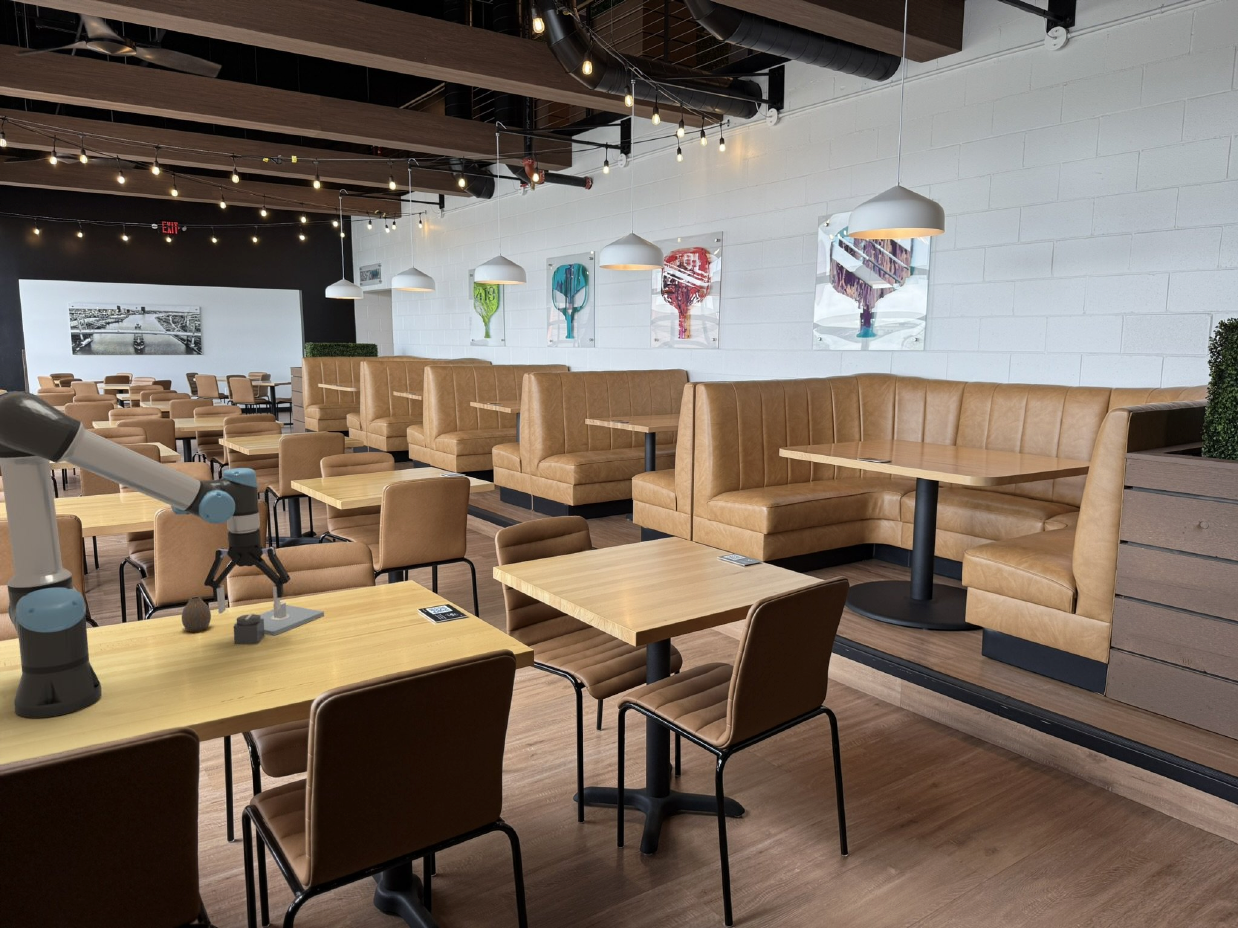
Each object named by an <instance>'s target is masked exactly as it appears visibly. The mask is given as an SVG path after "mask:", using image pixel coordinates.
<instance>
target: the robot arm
mask: <svg viewBox="0 0 1238 928" xmlns="http://www.w3.org/2000/svg"><path fill="white" fill-rule="evenodd" d="M51 462H52V463H55V464H59V463H62V462H66V463H68V464H71V465H73V466H75V467H77V468H81V469H82V470H86V471H87V472H90V473H93V474H95V475H98V476H100V477H102V478H103V479H107V480H109V481H112V482H114V483H116V484H119V485H121V486H123V487H125V488H127V489H131V490H133V491H136V492H138V493H141V494H143V495H145V496H148V497H149V498H152V499H155V500H157V501H159V502H163V503H164V504H167V505H169V506H170V508H171V510H172V512H173V514H174V515H177V516H180V515H187V516H188V515H192V516H194V517H197V518H199V519H202V520H203V521H204V522H207V523H209V524H214V525H219V524H224V523H226V528H227V530H228V532H227V543H228V549H225V548H223V547H219V548H218V549H216V550H215V558H214V561H213V562H212V565H211V567H210V570H209V572H208V574H207V576H206V579H205V580H204V586H205V587H211V588H212V594H213V599H214V601H217V608H218V609H217V610H218V611H217V612H218V614H223V613H224V612H225V611H226V609H227V608H226V599H225V586H224V585H221V584H222V583H223V581H224V580H226V578H227V576H229V574H230V573H231V572H232V571H233V569H234V568H235V567H236V566H238V567H253V566H254V567H256V568H258V569H259V570H260V571H261V572H262V573H263V575H265V576H266V577H267V578H269V580H270V581H271V582H272V583H273V584H274V585H272V594H273V604H274V606H273V610H274V611H278V610H279V609H280V608H281V606H280V602H281V599H282V597H283V596H284V585H285V584H287V583H289V581H290V580H291V577H290V575H289V573H288V572H287V570H286V568H285V567H284V565H283V563H282V562H281V560H280V559H279V557H278V555H277V552H276V548H275V546H270V547H267V548H263V546H262V536H261V535H262V534H261V533H262V532H261V529H260V527H261V523H260V521H261V520H260V510H259V491H258V489H259V485H258V481H257V475H256V474H257V472H256V471H255V470H254V469H253V468H250V467H238V468H237V467H235V468H229V469H225V470H224V471H223V473H222V478H219V479H209V480H199V479H197V478H195V477H192V476H191V475H188V474H186V473H184V472H181V471H178V470H177V469H174V468H173V467H170V466H168V465H165V464H163V463H162V462H159V461H157V460H154V459H153V458H150V457H148V456H146V455H143V454H141V453H139V452H137V451H134V450H132V449H130V448H128V447H126V446H123V445H121V444H120V443H119V444H118V443H117V442H115V441H112V440H110V439H108V438H105V437H104V436H101V435H98V434H97V433H95V432H92V431H90V430H88V429H85V426H84V425H83V422H82V421H80V420H77V419H75V418H73V417H72V416H70V415H68V414H66V413H64V412H62V411H61V410H59V409H58V408H56V407H54V405H52V404H50V403H49V402H48V401H46V400H44V399H43V398H41V397H40V396H38V395H36V394H34V393H31V392H27V391H17V390H14V391H6V392H3V393H1V394H0V473H1V481H2V487H3V496H4V501H5V503H4V504H5V512H6V518H7V519H6V520H7V527H8V532H9V541H10V542H9V543H10V548H11V549H10V550H11V556H12V563H13V571H14V572H13V573H14V574H13V576H11V577H10V579H8V581H7V582H6V583H7V592H8V600H9V601H8V608H7V609H8V610H7V611H8V616H9V619H10V621H11V623H12V624H13V627H14V629H15V631H16V634H17V636H18V643H19V644H18V645H19V654H20V663H21V664H20V665H21V672H22V673H21V677H20V680H19V684H18V686H17V690H16V694H15V697H14V702H13V703H14V704H13V705H14V713H15V714H16V715H18V716H19V717H23V718H29V719H31V718H32V719H37V718H38V719H41V718H43V719H44V718H50V717H57V716H62V715H68V714H70V713H74V712H77V711H80V710H82V709H86V707H89V706H91V705H93V704H95V703H96V702H97V701H99V700H100V699H101V698H102V695H103V693H102V684H101V682H100V680H99V678H98V676H97V674H96V672H95V670H94V668H93V666H92V663H91V662H90V655H89V654H90V653H89V645H88V644H89V643H88V631H87V629H88V628H87V619H86V613H87V612H86V611H87V605H86V602H85V600H84V599H85V597H84V596H83V594H82V593H81V592H79V591H78V590H76V589H74V583H73V575H72V572H71V571H70V570H68V569H66V568H65V567H64V566H63V562H62V560H63V559H62V553H61V545H60V538H59V537H60V536H59V529H58V528H59V527H58V519H57V514H56V513H57V512H56V504H55V496H54V495H55V494H54V488H53V480H52V479H53V478H52V471H51V464H50V463H51ZM263 555H265V557H267V558H268V560H269V562H270V563H271V565H272V566H273V568H274V569H273V568H272V567H270V565H269V564H267V562H266V561H265V559H264V558H263ZM226 556H228V557H229V559H231V560H230V562H228V563H227V566H226V567H225V568H224V570H223V571H222V572H221V573H220V575H219V576H218V577H217V578H216V575H217V574H218V571H219V569H220V566H221V564H222V562H223V560H224V558H226ZM215 578H216V579H215Z"/></svg>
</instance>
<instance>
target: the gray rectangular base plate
mask: <svg viewBox="0 0 1238 928" xmlns="http://www.w3.org/2000/svg"><path fill="white" fill-rule="evenodd" d="M280 606H281V608H280V609H279V610H278V611H274V609H271V610H269V611H265V612H262V613H260V614H259V615H260V616H261V619H264V635H267V636H273V637H275V636H277V635H279V634H283V633H285V632H288V631H290V630H292V629H295V628H298V627H299V626H302V625H304V624H307V623H310V622H312V621H315V620H317V619H320V618H322V617H324V616H325V611H322V610H316V609H311V608H306V607H300V606H294V605H289V604H286V602H284V601H280ZM273 607H274V603H273ZM319 617H320V618H319ZM314 619H315V620H314ZM236 623H237V622H235V623H234V625H235V624H236ZM234 625H233V626H234Z"/></svg>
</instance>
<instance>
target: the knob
mask: <svg viewBox="0 0 1238 928" xmlns="http://www.w3.org/2000/svg"><path fill="white" fill-rule="evenodd" d="M235 623H236V624H235ZM235 623H234V624H235V625H233V638H234V645H236V646H237V645H258V644H259V643H260V642H261V641H262V640H263V638H265V635H266V634H264V619H261V616H260V614H254V613H250V614H244V615H243V614H242V615H241V616H238V617H236V622H235Z"/></svg>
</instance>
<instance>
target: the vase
mask: <svg viewBox="0 0 1238 928" xmlns="http://www.w3.org/2000/svg"><path fill="white" fill-rule="evenodd" d="M211 620H212V614H211V609H210V607H209V606H208V604H206V603H205V601H204V600H203V599H202V597H200V596H192V597H190V598H189V600H188V602H187V603H186V604H185V606H184V607H183V609H182V612H181V622H182V625H183V627H184V629H186V630H187V631H188V632H190V633H197V632H202V631H204V630H206V629H207V628H208V626H210V622H211Z"/></svg>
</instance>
